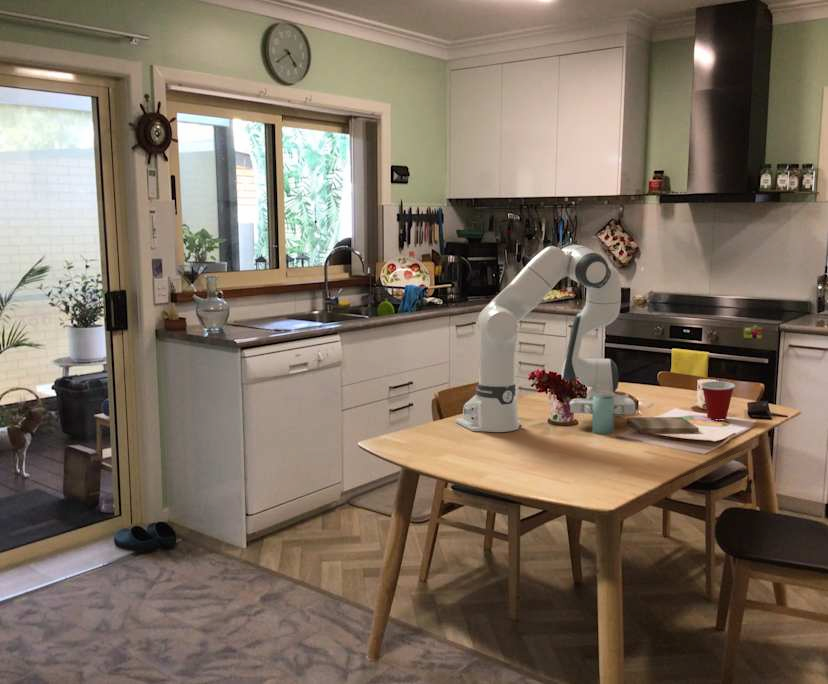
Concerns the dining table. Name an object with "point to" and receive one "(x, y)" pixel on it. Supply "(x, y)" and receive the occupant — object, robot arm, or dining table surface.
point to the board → (662, 425)
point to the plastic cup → (717, 398)
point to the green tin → (603, 414)
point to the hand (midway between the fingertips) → (603, 411)
